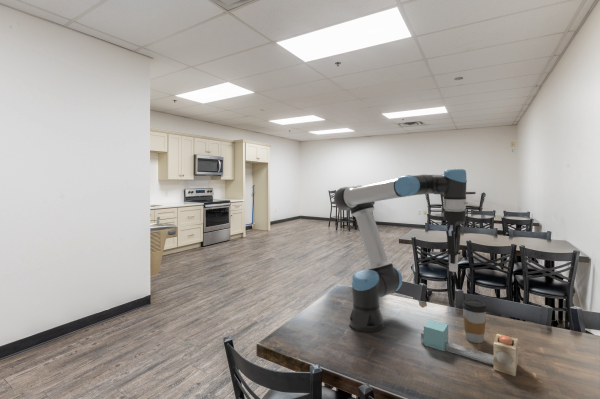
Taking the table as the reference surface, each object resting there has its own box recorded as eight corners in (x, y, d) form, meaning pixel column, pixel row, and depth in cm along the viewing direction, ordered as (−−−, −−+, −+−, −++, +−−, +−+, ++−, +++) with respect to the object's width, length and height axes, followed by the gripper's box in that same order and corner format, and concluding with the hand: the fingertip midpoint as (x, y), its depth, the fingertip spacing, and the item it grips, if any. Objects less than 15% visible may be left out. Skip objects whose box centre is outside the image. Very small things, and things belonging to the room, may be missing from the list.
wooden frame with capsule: (493, 370, 100) (493, 344, 100) (496, 358, 107) (496, 333, 106) (515, 377, 97) (515, 350, 96) (517, 364, 103) (517, 338, 102)
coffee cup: (490, 345, 114) (490, 307, 114) (466, 344, 116) (466, 306, 115) (481, 334, 123) (481, 298, 122) (459, 333, 124) (459, 298, 123)
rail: (421, 342, 118) (421, 333, 118) (423, 339, 121) (423, 330, 120) (499, 367, 102) (499, 355, 101) (500, 363, 104) (500, 351, 104)
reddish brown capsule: (498, 347, 101) (498, 338, 101) (500, 342, 104) (500, 334, 104) (511, 350, 99) (511, 342, 99) (512, 346, 102) (512, 337, 101)
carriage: (424, 345, 116) (423, 326, 115) (429, 337, 121) (429, 319, 120) (443, 351, 111) (443, 331, 111) (448, 343, 116) (448, 324, 116)
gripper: (461, 212, 106) (460, 277, 108) (469, 208, 116) (467, 268, 118) (438, 211, 111) (438, 273, 113) (448, 207, 121) (447, 265, 123)
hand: (453, 270), depth 115 cm, fingers closed
